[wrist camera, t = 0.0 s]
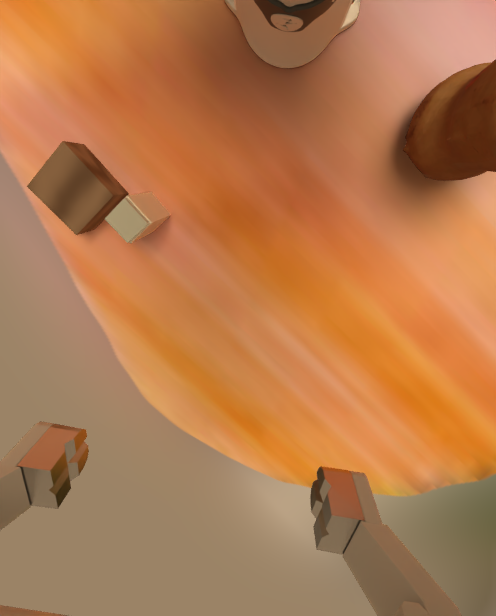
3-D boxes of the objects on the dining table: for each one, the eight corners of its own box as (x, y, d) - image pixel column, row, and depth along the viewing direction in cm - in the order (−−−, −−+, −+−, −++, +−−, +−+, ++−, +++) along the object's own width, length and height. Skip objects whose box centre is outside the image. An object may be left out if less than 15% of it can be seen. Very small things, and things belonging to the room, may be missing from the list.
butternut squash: (472, 58, 42) (712, -75, 19) (496, 149, 47) (713, 126, 24) (379, 119, 46) (488, 66, 23) (408, 197, 50) (525, 218, 28)
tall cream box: (133, 210, 54) (102, 218, 44) (151, 191, 52) (124, 196, 42) (153, 231, 55) (127, 244, 45) (171, 214, 54) (149, 223, 44)
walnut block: (51, 185, 53) (26, 186, 48) (85, 144, 50) (62, 141, 45) (95, 229, 56) (76, 235, 51) (129, 193, 53) (113, 195, 47)
